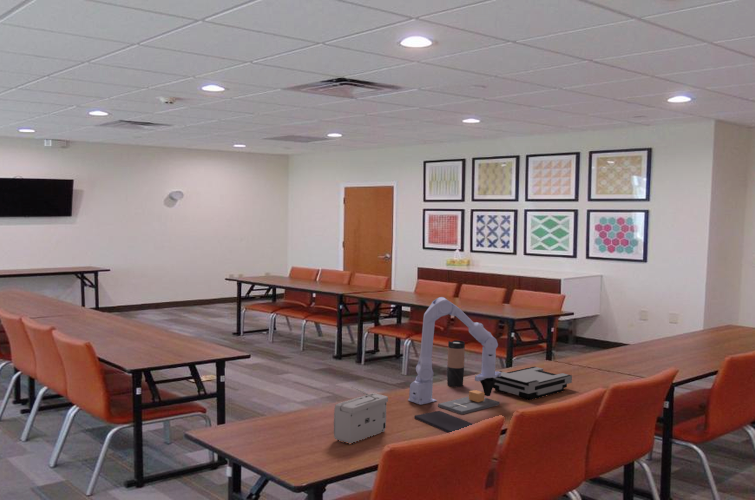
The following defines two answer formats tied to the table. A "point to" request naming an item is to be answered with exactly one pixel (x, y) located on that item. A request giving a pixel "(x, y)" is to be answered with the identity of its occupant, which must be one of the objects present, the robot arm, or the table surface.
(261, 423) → the table surface
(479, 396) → the fader knob
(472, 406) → the fader panel
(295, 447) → the table surface
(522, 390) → the game console
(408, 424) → the table surface
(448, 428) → the notebook
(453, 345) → the travel mug
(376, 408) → the stereo radio cassette player
